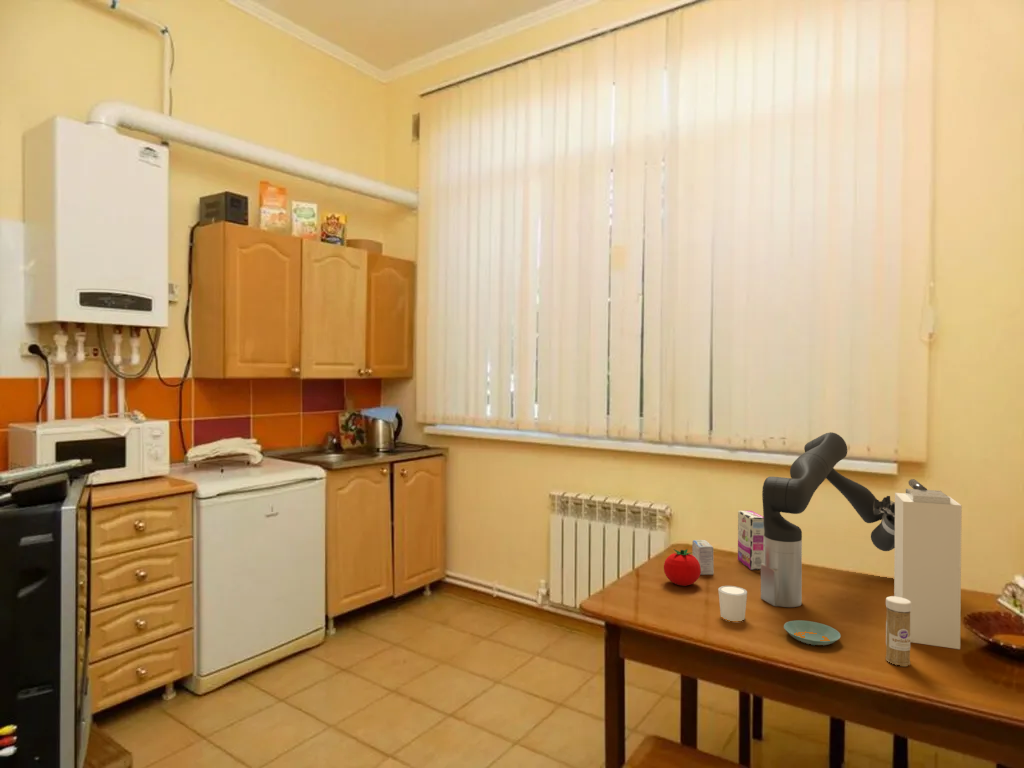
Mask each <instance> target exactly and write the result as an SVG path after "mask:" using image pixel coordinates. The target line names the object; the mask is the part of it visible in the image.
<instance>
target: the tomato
mask: <svg viewBox="0 0 1024 768" xmlns="http://www.w3.org/2000/svg"><path fill="white" fill-rule="evenodd" d="M673 550H674V552H672V553H670V555H668V556H667V557H666V559H665V560H664V563H663V571H664V574H665V577H666V578H667V579H668V580H669V581H670V582H671V583H673V584H675V585H678V586H683V587H684V586H690V585H693V584H694V583H696V581H698V580H699V578H700V576H701V575H700V574H701V568H700V564H699V561H698V560H697V559H696V558H695V557H694V556H693V553H694V552H693V551H692V552H688V548H687V549H685V550H684V549H680V550H676V549H674V548H673Z"/></svg>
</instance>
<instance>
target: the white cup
mask: <svg viewBox="0 0 1024 768" xmlns="http://www.w3.org/2000/svg"><path fill="white" fill-rule="evenodd" d="M717 590H718V591H717V592H718V599H719V612H720V617H723V618H724V619H727V620H730V621H742V620H744V621H745V618H746V609H747V607H746V606H747V597H748V591H747V589H745V588H743V587H739V586H735V585H722V586H720V587H718V589H717ZM724 619H723V620H724ZM727 620H726V621H727ZM730 621H729V622H730ZM742 622H743V621H742Z"/></svg>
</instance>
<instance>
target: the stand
mask: <svg viewBox="0 0 1024 768" xmlns="http://www.w3.org/2000/svg"><path fill="white" fill-rule="evenodd" d="M947 496H948V497H950V504H939V503H925V502H913V501H912V500H911V499H910V498H909V497H908V496H907V495H906V492H902V493H901V492H894V502H895V548H894V568H893V569H894V570H893V571H894V576H893V580H894V583H893V585H894V587H893V588H894V589H893V593H894V594H893V596H896V597H902V598H905V599H908V600H909V601H910V602H911V611H910V612H911V613H910V643H913V644H921V645H928V646H934V647H941V648H942V647H943V648H949V649H954V650H961V619H962V618H961V616H962V615H961V612H962V611H961V610H962V609H961V607H962V606H961V604H962V601H961V599H962V595H961V594H962V590H961V589H962V511H963V510H962V508H963V506H962V504H961V503H959V502H958V501H957V500H955V499H953V498H952V497H951V496H950V495H947Z"/></svg>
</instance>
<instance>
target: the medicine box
mask: <svg viewBox="0 0 1024 768" xmlns="http://www.w3.org/2000/svg"><path fill="white" fill-rule="evenodd" d="M691 544H692V550H691V551H692V555H693V556H694V557H695V558H696V559H697V560H698V561H699V564H700V568H701V574H700V576H706V575H707V576H713V575H714V567H715V566H714V546H713V545H712V544H711V543H709V541H707V540H705V539H694V540H693V539H692V543H691ZM693 552H694V553H693Z"/></svg>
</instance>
